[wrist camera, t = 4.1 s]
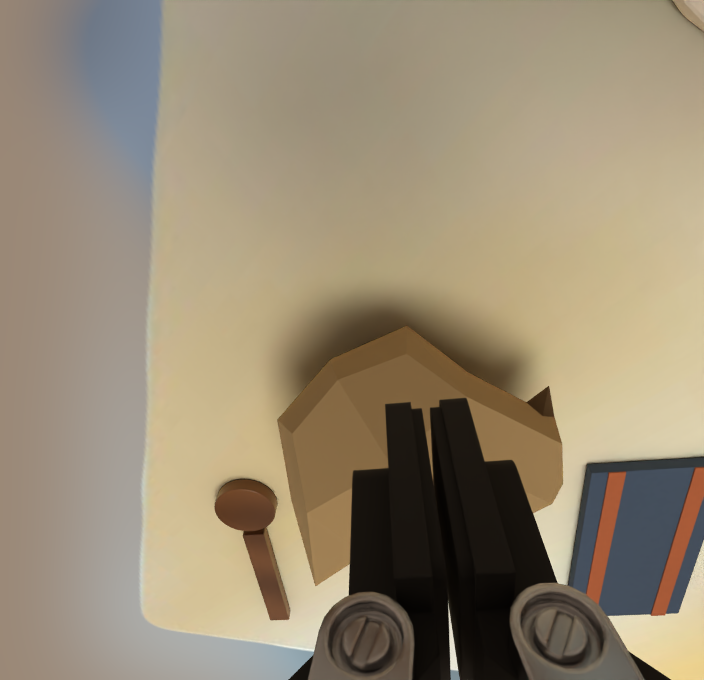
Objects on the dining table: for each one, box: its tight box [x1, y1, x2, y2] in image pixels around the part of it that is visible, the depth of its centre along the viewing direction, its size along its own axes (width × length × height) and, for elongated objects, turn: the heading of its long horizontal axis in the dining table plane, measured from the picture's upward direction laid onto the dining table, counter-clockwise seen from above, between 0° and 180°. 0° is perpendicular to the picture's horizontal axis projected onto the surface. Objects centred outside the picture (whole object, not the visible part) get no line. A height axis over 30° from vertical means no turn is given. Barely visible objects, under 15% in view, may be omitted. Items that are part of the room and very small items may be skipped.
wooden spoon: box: [215, 479, 290, 620], centre depth 37 cm, size 14×4×1 cm, turn 7°
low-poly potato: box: [278, 326, 563, 586], centre depth 26 cm, size 15×11×12 cm
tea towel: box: [568, 457, 704, 616], centre depth 35 cm, size 15×8×1 cm, turn 7°
